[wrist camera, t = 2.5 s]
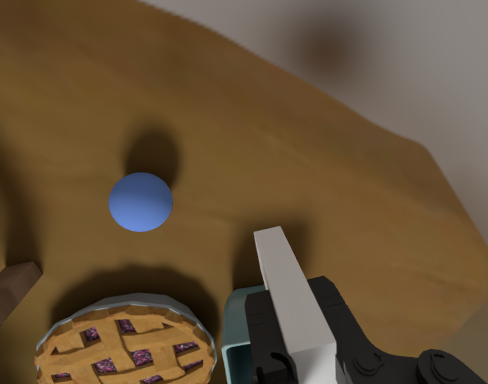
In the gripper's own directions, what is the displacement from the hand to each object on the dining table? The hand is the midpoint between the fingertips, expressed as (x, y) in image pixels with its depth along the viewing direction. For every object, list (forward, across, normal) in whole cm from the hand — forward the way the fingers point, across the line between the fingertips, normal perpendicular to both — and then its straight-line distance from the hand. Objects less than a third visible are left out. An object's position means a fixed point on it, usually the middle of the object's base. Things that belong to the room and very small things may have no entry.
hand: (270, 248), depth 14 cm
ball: (+11, +10, 0) cm, 15 cm away
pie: (+14, +19, +22) cm, 32 cm away
